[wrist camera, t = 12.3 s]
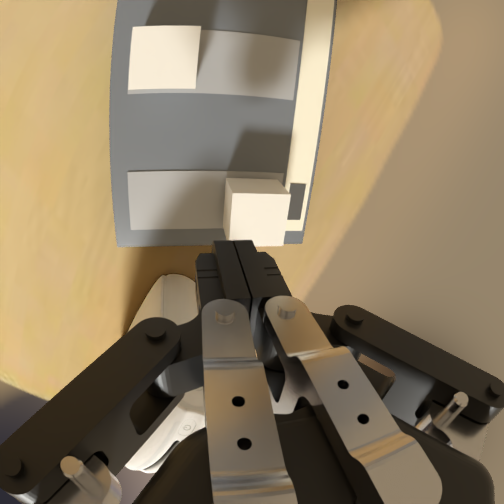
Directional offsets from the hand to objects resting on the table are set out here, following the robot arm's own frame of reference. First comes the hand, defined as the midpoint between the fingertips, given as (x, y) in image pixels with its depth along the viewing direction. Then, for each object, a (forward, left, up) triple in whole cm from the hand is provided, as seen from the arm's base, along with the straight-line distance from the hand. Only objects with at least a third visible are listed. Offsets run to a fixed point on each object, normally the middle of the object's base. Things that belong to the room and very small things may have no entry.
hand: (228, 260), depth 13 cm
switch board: (-8, 0, -9) cm, 12 cm away
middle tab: (-8, -3, -7) cm, 11 cm away
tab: (0, +2, -6) cm, 7 cm away
